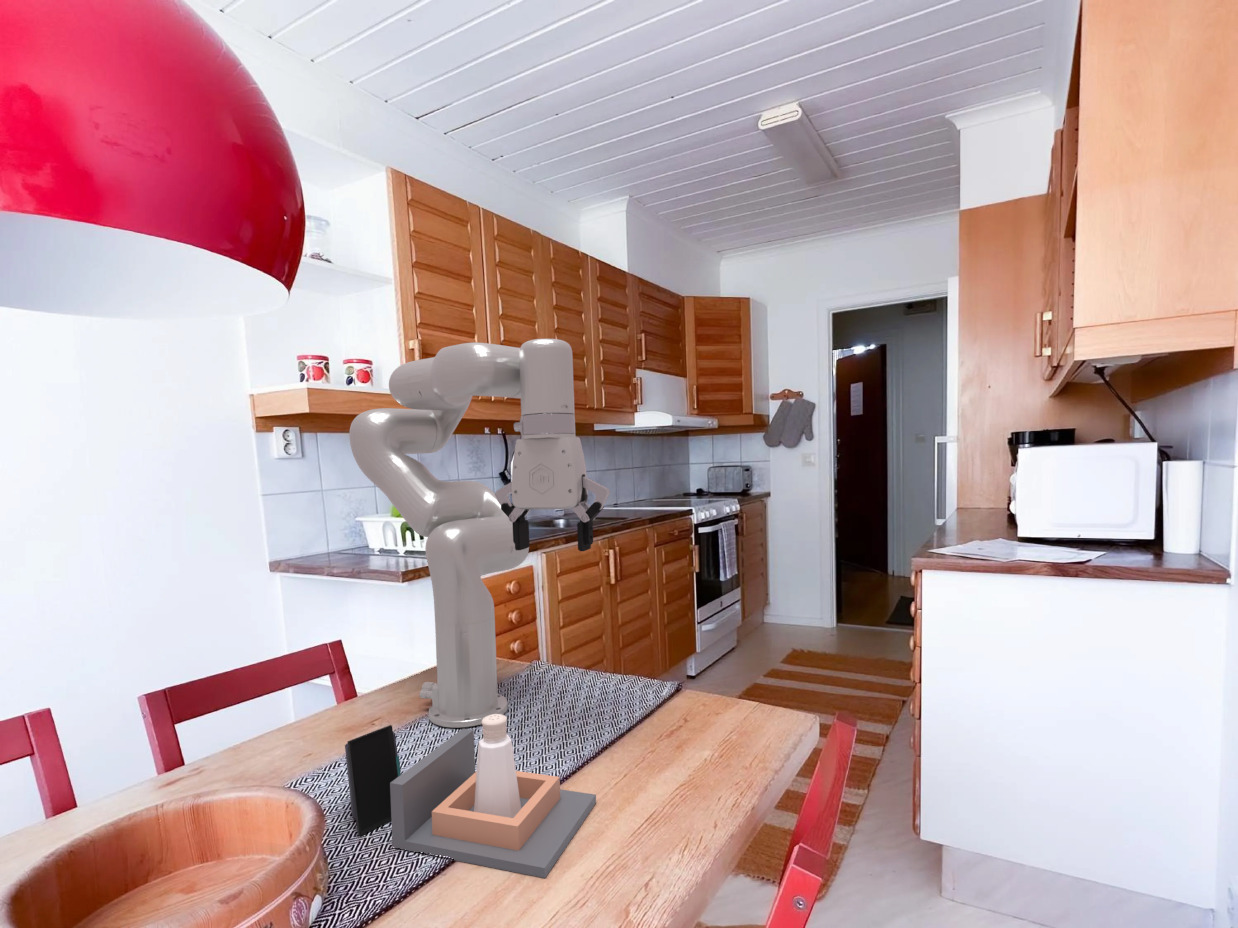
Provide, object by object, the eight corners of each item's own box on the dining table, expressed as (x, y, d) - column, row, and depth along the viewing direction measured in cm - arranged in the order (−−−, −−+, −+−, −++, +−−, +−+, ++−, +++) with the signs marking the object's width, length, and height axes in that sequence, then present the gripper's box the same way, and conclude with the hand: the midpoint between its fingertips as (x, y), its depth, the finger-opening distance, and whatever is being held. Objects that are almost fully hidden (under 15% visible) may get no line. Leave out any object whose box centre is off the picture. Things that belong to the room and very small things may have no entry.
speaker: (411, 818, 73) (401, 727, 73) (358, 837, 70) (348, 742, 70) (399, 796, 79) (389, 712, 80) (349, 812, 76) (340, 726, 77)
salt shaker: (479, 802, 74) (475, 708, 74) (525, 800, 74) (521, 707, 74) (468, 829, 69) (464, 728, 69) (517, 827, 69) (514, 726, 69)
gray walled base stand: (392, 847, 68) (389, 782, 68) (464, 782, 81) (462, 728, 81) (545, 878, 62) (542, 806, 62) (596, 802, 75) (593, 744, 75)
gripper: (480, 430, 89) (485, 552, 89) (596, 424, 83) (601, 554, 83) (507, 432, 96) (511, 545, 96) (615, 426, 90) (619, 546, 90)
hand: (553, 549), depth 90 cm, fingers open, 9 cm apart
